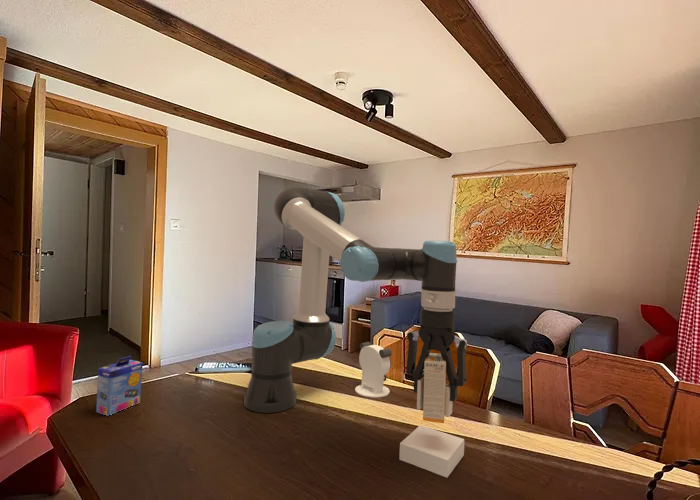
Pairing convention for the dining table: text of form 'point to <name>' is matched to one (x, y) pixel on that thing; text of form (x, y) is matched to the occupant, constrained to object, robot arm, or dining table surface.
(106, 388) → the ink cartridge box
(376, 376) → the white rounded upright piece
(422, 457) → the white block
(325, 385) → the dining table surface
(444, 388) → the supplement box
